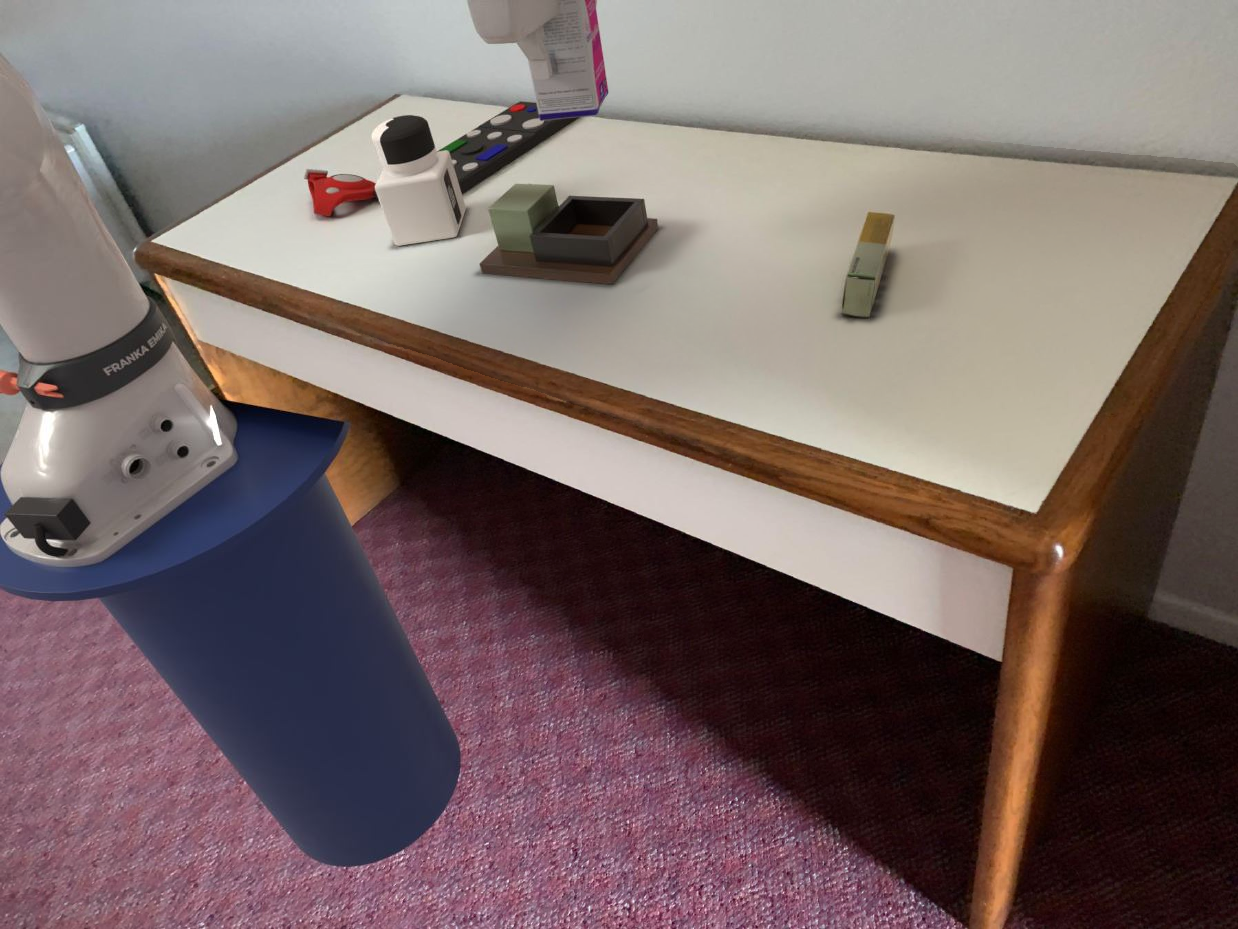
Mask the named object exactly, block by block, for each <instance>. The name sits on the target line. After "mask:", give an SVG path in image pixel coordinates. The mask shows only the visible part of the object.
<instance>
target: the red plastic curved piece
mask: <svg viewBox="0 0 1238 929" xmlns="http://www.w3.org/2000/svg"><path fill="white" fill-rule="evenodd" d="M328 174H329V171H328V170H324V169H313V168H305V171H304V176H303V179H304V180H307V185H308V190H309V193H310V196H311V198H312V205H313V213H314V214H316V215H320V216H324V217H325V216H326V217H331V215H332V213H333V211H334V209H335V208H337V207H339V206H340V205H343V204H344V203H347V202H353V201H355V202H356V201H363V200H369V199H374V198H376V197H375V194H374V192H373V190H374V189H375V185H376V183H377V182H374V181H372V180H370V179H367V178H364V177H363V176H360V175H356V174H349V173H339V174H334V175H330V176H328Z"/></svg>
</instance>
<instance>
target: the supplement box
mask: <svg viewBox="0 0 1238 929" xmlns="http://www.w3.org/2000/svg"><path fill="white" fill-rule="evenodd" d="M558 2H559V14H558V15H557V16H555V17H554V18H552V19H551V20H549V21H548V22H547V23H545V24H544V25H543V28H544V33H545V38H543V39H542V41H543V43H544V45H545V47H546V49H547V51H548V53H549V54H555V59H556V66H557V69H558V71H557V73H556V74H555V75H554V76H552V77H551V78H550V79H548V80H536V79H534V77H533V74H532V70H531V66H530V61H529V60H528V59H527V61H528V67H529V71H530V76H531V82H532V87H533V92H534V97H535V103H537V108H538V113H539V120H540V121H546V120H555V119H564V118H573V117H579V118H583V117H592V116H597V115H598V113H599V111H600V109H601V107H602V105H603V103H604V101H605V99H606V97H608V94H609V86H608V79H607V73H606V66H605V60H604V52H603V46H602V39H601V32H600V25H599V19H598V13H597V5H595V0H558Z"/></svg>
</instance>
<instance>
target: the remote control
mask: <svg viewBox="0 0 1238 929" xmlns="http://www.w3.org/2000/svg"><path fill="white" fill-rule="evenodd" d="M578 118H580V117H573V118H564V119H555V120H546V121H540V120H539V113H538V108H537V103H536V102H534V101H532V102H531V101H521V100H519V101H518V102H516V103H515V104H513V105H511V106H509V107H508V108H506V109H504V110H503V111H501V112H499V113H498V114H496V115H495V116H492V117H491V118H490V119H487V120H486V121H485V122H483V123H482V124H480V125H478V126H476V127H475V128H473V129H471V130H470V131H468V132H467V133H465V134H464V135H462V136H460V137H459V138H457V139H455V140H454V141H451V142H450V143H449V144H446V145H445V146H443V147H442V148H441V149H439V150H436V151H437V152H439V151H445V150H447V151H449V153H450V156H451V159H452V163H453V166H454V169H455V173H456V176H457V179H458V183H459V186H460V190H461V193H462V195H463V194H464V193H466V192H467V191H469V190H470V189H472V188H473V187H475V186H477V185H478V184H480V183H481V182H482V181H485V179H487V178H488V177H490V176H492V175H493V174H495V173H496V172H498V171H499V170H501V169H502V168H504V167H505V166H507V165H509V164H511V162H513V161H515V160H516V159H518V158H519V157H521V156H523V155H524V154H525V153H526V152H528V151H530V150H532V149H533V148H535V147H536V146H537V145H539V144H540V143H542V142H544V141H545V140H546V139H549V138H550V137H551V136H552V135H554V134H556V133H557V132H559V131H560V130H562V129H564V128H565V127H566V126H568V125H569V124H571V123H573V122H574V121H576V120H577V119H578ZM373 192H374V194H375V197H374V198H375V200H376V201H377V202H379V199H378V196H377V193H376V190H375V189H374V190H373Z"/></svg>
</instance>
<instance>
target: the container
mask: <svg viewBox="0 0 1238 929" xmlns="http://www.w3.org/2000/svg"><path fill="white" fill-rule="evenodd" d="M370 136H371V140H372V143H373V146H374V148H375V151H376V154H377V157H378V160H379V164H380V166H381V168H382V169H383V170H382V171H381V174H380V175H379V177H378V179H377V180H376V182H375V183H376V185H375V190H376V193H377V196H378V199H379V201H378V202H379V205H380V208H381V210H382V212H383V216H384V218H385V221H386V224H387V227H388V229H389V232H390V235H391V238H392V240H393V243H394V245H395V246H397V247H400V246H406V245H413V244H419V243H425V242H433V241H438V240H447V239H453V238H456V237H457V236H458V234H459V231H460V228H461V225H462V223H463V222H462V221H463V219H464V216H465V214H466V210H467V208H466V203H465V201H464V197H463V194H462V193H461V190H460V186H459V183H458V179H457V176H456V173H455V169H454V166H453V163H452V159H451V156H450V153H449V151H447V150H445V151H439V150H437V147H436V145H435V141H434V138H433V135H432V131H431V128H430V124H429V121H428V120H427V119H426V118H425V117H422V116H419V115H413V114H405V115H399V116H395V117H391V118H389V119H386V120H384V121H383V122H381V123H380V124H379V125H377V126H376V127H375V128H374V129H373V131H372V133H371V135H370ZM437 151H439V152H437Z"/></svg>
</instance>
